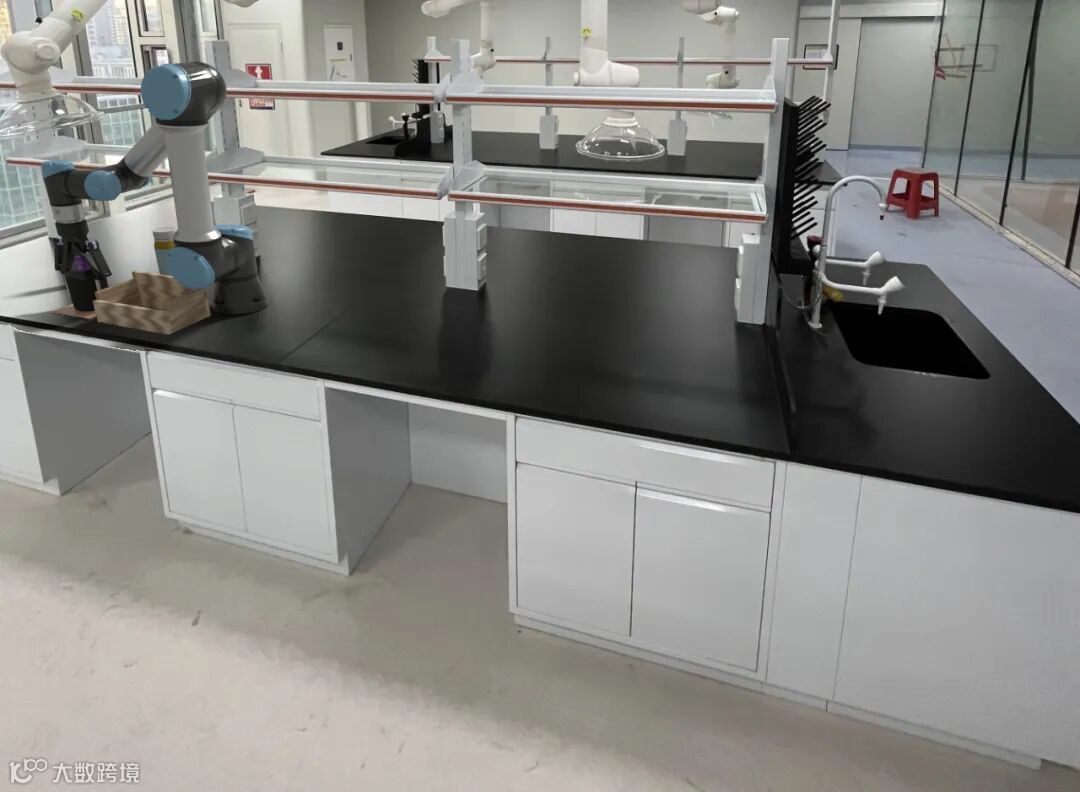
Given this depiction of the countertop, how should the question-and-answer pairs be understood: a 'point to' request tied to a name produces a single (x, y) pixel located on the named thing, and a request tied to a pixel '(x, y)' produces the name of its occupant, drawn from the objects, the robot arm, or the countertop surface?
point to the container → (80, 263)
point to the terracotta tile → (75, 312)
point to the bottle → (163, 247)
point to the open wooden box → (151, 304)
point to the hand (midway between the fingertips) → (89, 298)
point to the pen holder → (82, 289)
